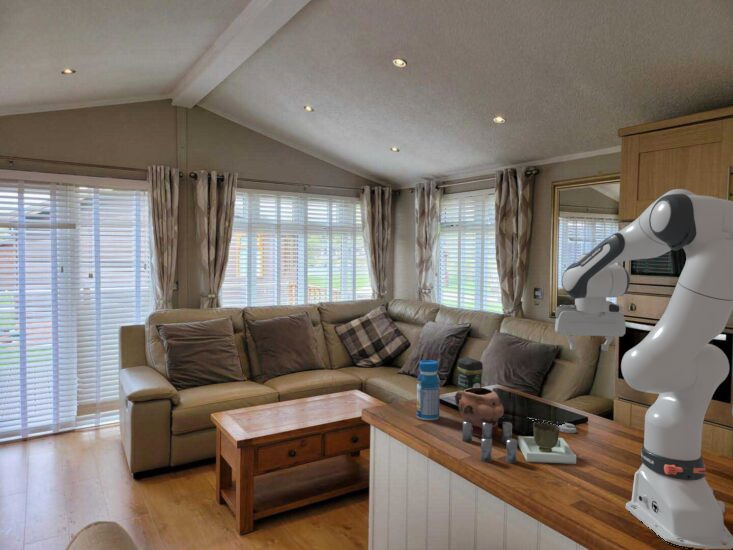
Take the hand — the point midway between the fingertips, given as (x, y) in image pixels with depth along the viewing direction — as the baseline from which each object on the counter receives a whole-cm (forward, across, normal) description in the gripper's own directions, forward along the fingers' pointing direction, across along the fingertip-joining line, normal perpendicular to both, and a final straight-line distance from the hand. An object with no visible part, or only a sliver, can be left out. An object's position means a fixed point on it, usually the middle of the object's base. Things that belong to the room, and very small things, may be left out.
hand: (588, 349), depth 156 cm
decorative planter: (+29, -33, +5) cm, 44 cm away
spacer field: (+29, -31, -11) cm, 44 cm away
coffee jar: (+29, -33, +32) cm, 55 cm away
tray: (+29, -15, -11) cm, 35 cm away
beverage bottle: (+29, -49, +17) cm, 60 cm away
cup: (+29, -15, -11) cm, 34 cm away
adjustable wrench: (+30, -10, +16) cm, 35 cm away
